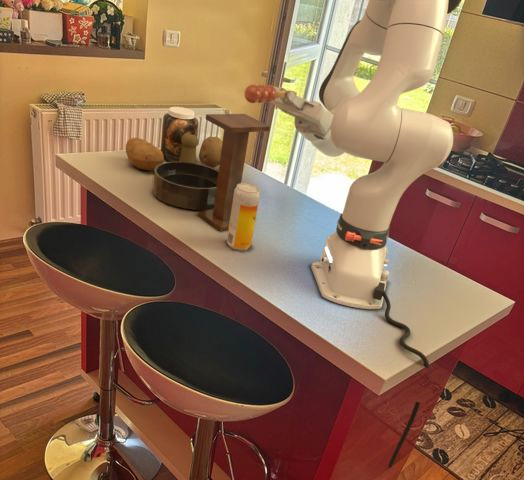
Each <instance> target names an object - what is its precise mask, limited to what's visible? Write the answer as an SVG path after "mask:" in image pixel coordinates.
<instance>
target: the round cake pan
mask: <svg viewBox="0 0 524 480" xmlns="http://www.w3.org/2000/svg"><path fill="white" fill-rule="evenodd" d="M218 172H219V169H216V168H215V167H214V168H211V167H208V166H206V165H204V164H200V163H197V162H196V163H191V162H168V161H166V162H163V163H162V164H159V165H157V166H156V167H155V169H154V170H153V184H152V192H153V193H152V194H153V195H154V196H155V197H156V198H157V199H159V200H160V201H161V202H163V203H165V204H167V205H170V206H173V207H177V208H182V209H186V210H187V209H188V210H196V211H197V210H198V211H205V210H212V209H214V203H215V195H216V188H217V180H218Z"/></svg>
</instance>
